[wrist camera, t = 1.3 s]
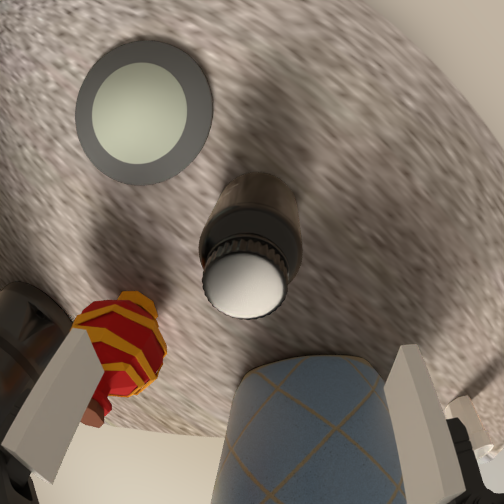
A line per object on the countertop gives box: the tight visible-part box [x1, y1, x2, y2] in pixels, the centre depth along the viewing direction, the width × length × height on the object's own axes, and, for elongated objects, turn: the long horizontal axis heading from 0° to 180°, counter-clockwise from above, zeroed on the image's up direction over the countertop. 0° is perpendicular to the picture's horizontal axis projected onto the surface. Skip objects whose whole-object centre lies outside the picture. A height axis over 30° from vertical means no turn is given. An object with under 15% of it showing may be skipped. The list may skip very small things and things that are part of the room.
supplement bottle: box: [199, 172, 303, 320], centre depth 23 cm, size 7×7×12 cm
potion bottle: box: [69, 291, 167, 428], centre depth 28 cm, size 10×10×15 cm
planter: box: [211, 355, 407, 504], centre depth 30 cm, size 23×23×24 cm
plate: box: [75, 41, 213, 185], centre depth 24 cm, size 13×13×1 cm
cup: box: [444, 395, 494, 460], centre depth 36 cm, size 7×7×11 cm
